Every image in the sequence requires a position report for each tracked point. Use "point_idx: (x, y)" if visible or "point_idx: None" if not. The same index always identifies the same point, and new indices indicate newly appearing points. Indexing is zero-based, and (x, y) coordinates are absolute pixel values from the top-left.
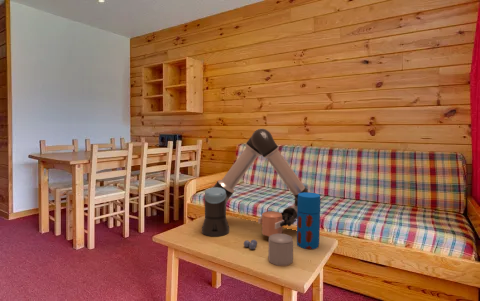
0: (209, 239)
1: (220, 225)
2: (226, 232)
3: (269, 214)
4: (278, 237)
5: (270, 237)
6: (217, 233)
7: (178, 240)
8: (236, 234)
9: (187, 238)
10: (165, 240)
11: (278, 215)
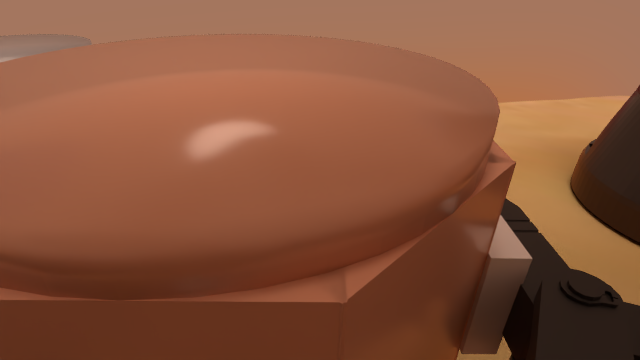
0: (538, 152)
1: (618, 127)
2: (607, 209)
3: (260, 58)
4: (19, 46)
5: (80, 40)
6: (578, 162)
7: (574, 109)
8: (577, 262)
9: (589, 124)
10: (589, 97)
11: (16, 76)
